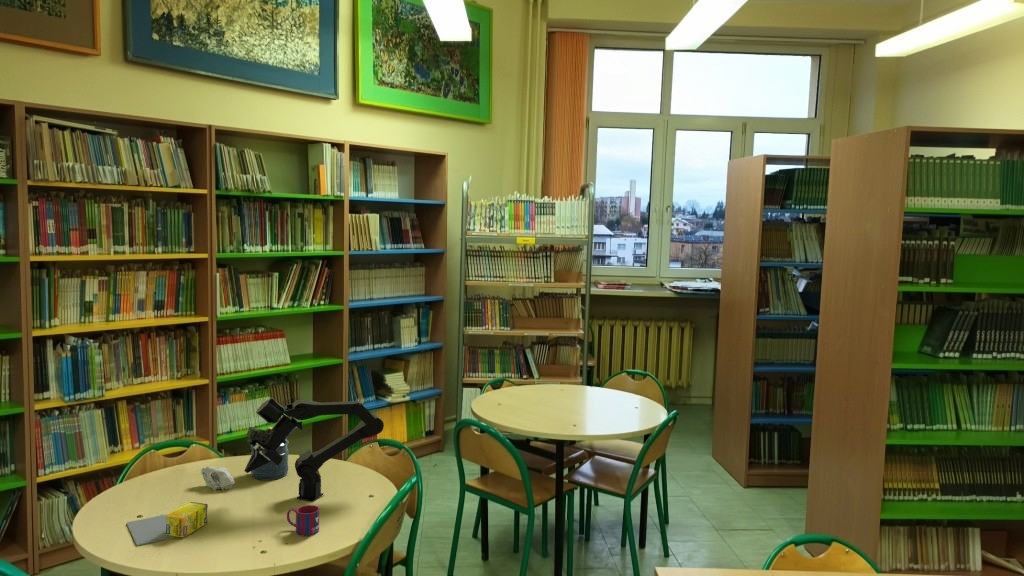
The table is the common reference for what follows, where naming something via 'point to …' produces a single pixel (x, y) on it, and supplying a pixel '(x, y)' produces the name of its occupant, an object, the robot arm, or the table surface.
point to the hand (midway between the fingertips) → (245, 471)
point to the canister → (273, 465)
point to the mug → (306, 520)
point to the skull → (217, 477)
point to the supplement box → (186, 519)
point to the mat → (149, 530)
